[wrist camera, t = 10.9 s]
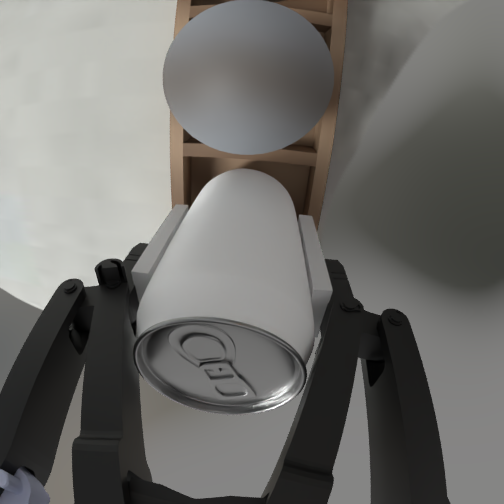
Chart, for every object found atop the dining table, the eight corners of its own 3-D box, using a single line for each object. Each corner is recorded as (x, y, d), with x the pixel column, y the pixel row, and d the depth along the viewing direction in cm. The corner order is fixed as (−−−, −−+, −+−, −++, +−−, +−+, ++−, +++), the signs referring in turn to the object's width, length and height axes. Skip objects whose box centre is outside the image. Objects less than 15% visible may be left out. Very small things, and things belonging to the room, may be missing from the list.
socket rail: (202, -71, 9) (166, -134, 1) (338, -63, 9) (374, -124, 1) (186, 250, 23) (152, 333, 16) (302, 261, 23) (314, 349, 15)
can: (280, 153, 16) (299, 283, 6) (304, 244, 19) (330, 409, 9) (180, 184, 18) (83, 322, 7) (216, 265, 21) (179, 420, 11)
